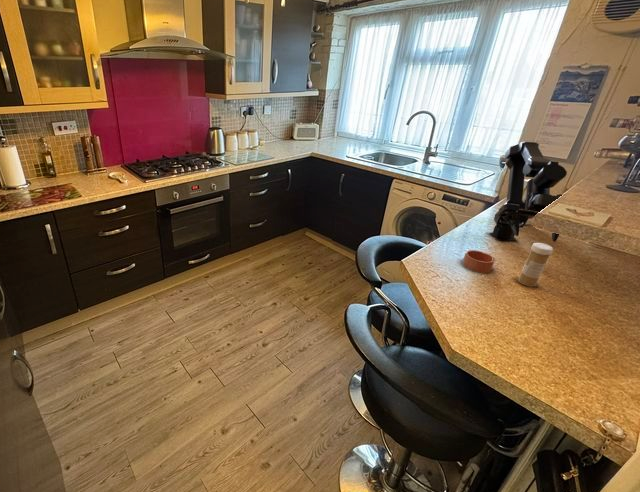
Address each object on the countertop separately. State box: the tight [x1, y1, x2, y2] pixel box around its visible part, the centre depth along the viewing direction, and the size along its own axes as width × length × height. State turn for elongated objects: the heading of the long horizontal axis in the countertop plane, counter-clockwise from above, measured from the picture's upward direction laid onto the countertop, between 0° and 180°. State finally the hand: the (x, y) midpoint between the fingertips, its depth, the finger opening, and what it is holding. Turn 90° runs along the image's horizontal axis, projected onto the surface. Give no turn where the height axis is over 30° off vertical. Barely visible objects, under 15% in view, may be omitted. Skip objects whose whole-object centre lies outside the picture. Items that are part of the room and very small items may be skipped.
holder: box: [462, 249, 496, 274], centre depth 109 cm, size 8×8×4 cm
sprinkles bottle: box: [517, 242, 554, 288], centre depth 98 cm, size 5×5×13 cm
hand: (535, 238), depth 101 cm, fingers open, 9 cm apart
